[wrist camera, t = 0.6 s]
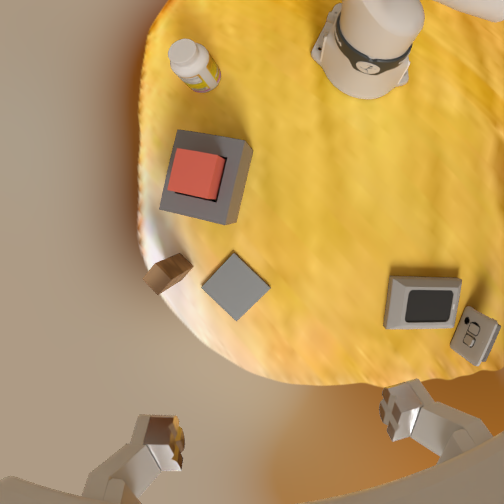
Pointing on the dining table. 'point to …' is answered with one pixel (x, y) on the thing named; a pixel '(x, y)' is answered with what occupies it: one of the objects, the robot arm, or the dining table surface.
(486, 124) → the dining table surface
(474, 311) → the electrical switch
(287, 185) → the dining table surface
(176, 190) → the button
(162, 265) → the brown wooden block
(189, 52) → the supplement bottle
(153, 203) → the dining table surface
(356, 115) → the dining table surface
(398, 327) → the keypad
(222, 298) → the pad
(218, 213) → the gray socket block
